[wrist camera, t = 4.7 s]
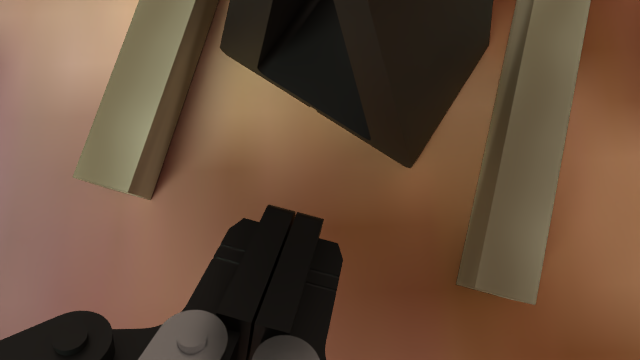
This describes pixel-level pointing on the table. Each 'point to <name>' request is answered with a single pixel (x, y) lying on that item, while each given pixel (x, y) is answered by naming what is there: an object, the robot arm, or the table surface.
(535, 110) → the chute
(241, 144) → the table surface
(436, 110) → the phone stand
